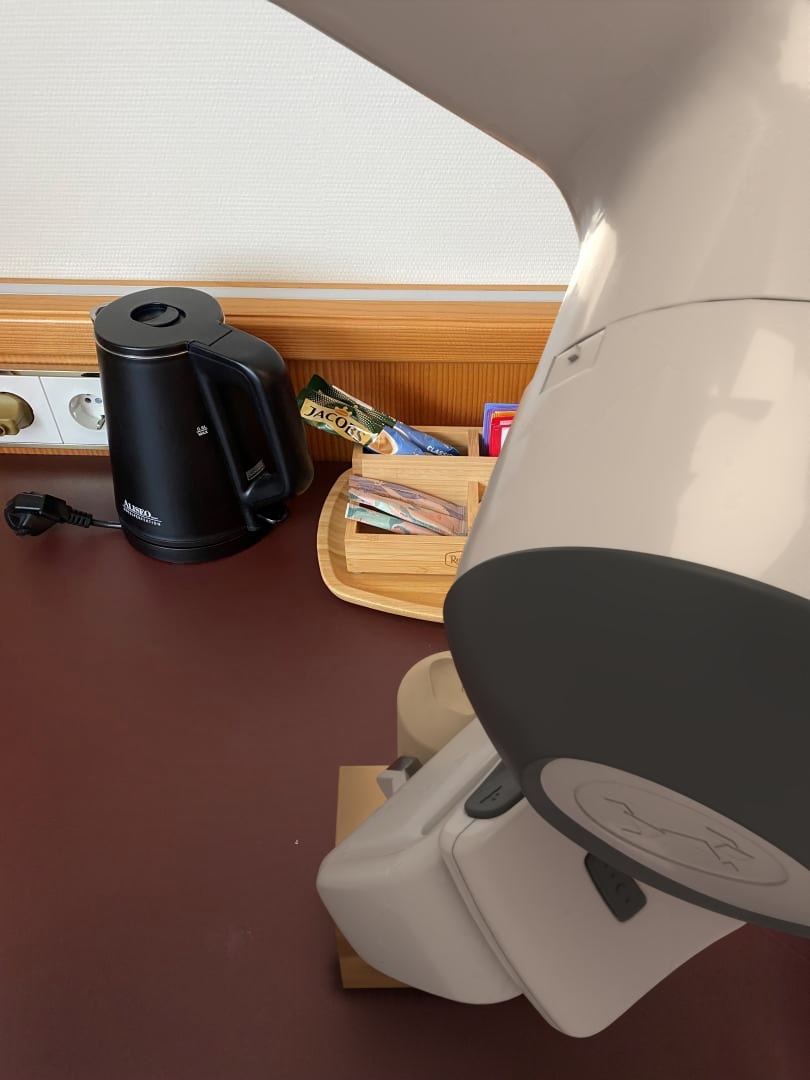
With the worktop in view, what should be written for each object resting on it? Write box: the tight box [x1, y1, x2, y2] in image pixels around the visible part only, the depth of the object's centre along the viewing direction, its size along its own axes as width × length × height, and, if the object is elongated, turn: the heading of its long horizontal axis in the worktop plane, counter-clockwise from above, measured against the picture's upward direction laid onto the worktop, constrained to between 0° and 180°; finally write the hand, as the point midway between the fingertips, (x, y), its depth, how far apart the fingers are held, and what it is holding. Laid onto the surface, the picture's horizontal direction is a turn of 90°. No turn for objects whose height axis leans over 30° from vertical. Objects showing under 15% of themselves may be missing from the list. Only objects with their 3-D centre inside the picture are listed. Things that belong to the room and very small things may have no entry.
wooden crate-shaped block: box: [333, 765, 413, 989], centre depth 45 cm, size 12×8×11 cm, turn 91°
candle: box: [396, 650, 477, 766], centre depth 36 cm, size 6×6×10 cm
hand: (446, 734), depth 36 cm, fingers closed on candle, 5 cm apart
